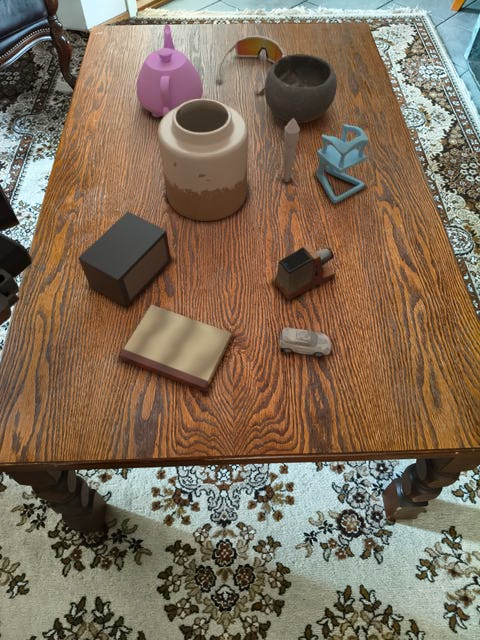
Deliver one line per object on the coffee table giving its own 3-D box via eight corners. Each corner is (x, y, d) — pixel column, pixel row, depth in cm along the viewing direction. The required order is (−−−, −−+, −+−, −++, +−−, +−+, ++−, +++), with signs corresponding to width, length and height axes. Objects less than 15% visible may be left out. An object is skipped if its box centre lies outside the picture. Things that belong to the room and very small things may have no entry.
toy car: (329, 359, 77) (333, 349, 75) (277, 352, 78) (279, 342, 75) (331, 338, 79) (334, 328, 77) (280, 332, 80) (281, 321, 77)
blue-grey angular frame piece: (335, 164, 101) (346, 111, 91) (364, 187, 98) (379, 134, 88) (306, 179, 99) (314, 126, 89) (334, 204, 95) (346, 151, 85)
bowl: (250, 120, 109) (251, 75, 101) (285, 86, 116) (289, 42, 108) (310, 144, 105) (316, 100, 96) (343, 108, 112) (351, 64, 103)
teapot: (143, 77, 118) (134, 23, 107) (204, 76, 118) (201, 22, 108) (135, 131, 107) (125, 77, 96) (202, 131, 107) (199, 76, 97)
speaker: (127, 308, 82) (118, 280, 76) (89, 286, 84) (77, 257, 78) (172, 260, 87) (167, 230, 81) (135, 241, 90) (127, 210, 84)
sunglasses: (292, 62, 121) (293, 43, 117) (266, 104, 115) (266, 85, 111) (238, 48, 124) (237, 29, 120) (211, 88, 119) (209, 70, 114)
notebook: (120, 360, 77) (118, 354, 75) (152, 309, 82) (150, 303, 81) (205, 392, 74) (204, 387, 73) (232, 337, 79) (232, 332, 78)
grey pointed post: (295, 184, 98) (303, 121, 86) (282, 186, 98) (288, 124, 86) (290, 175, 100) (298, 112, 88) (277, 178, 99) (283, 115, 87)
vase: (261, 203, 95) (266, 126, 81) (189, 233, 91) (181, 157, 77) (222, 156, 102) (219, 78, 88) (153, 182, 98) (139, 105, 84)
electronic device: (335, 278, 86) (342, 249, 79) (288, 302, 83) (291, 274, 77) (319, 261, 88) (325, 231, 81) (273, 284, 85) (275, 255, 79)
